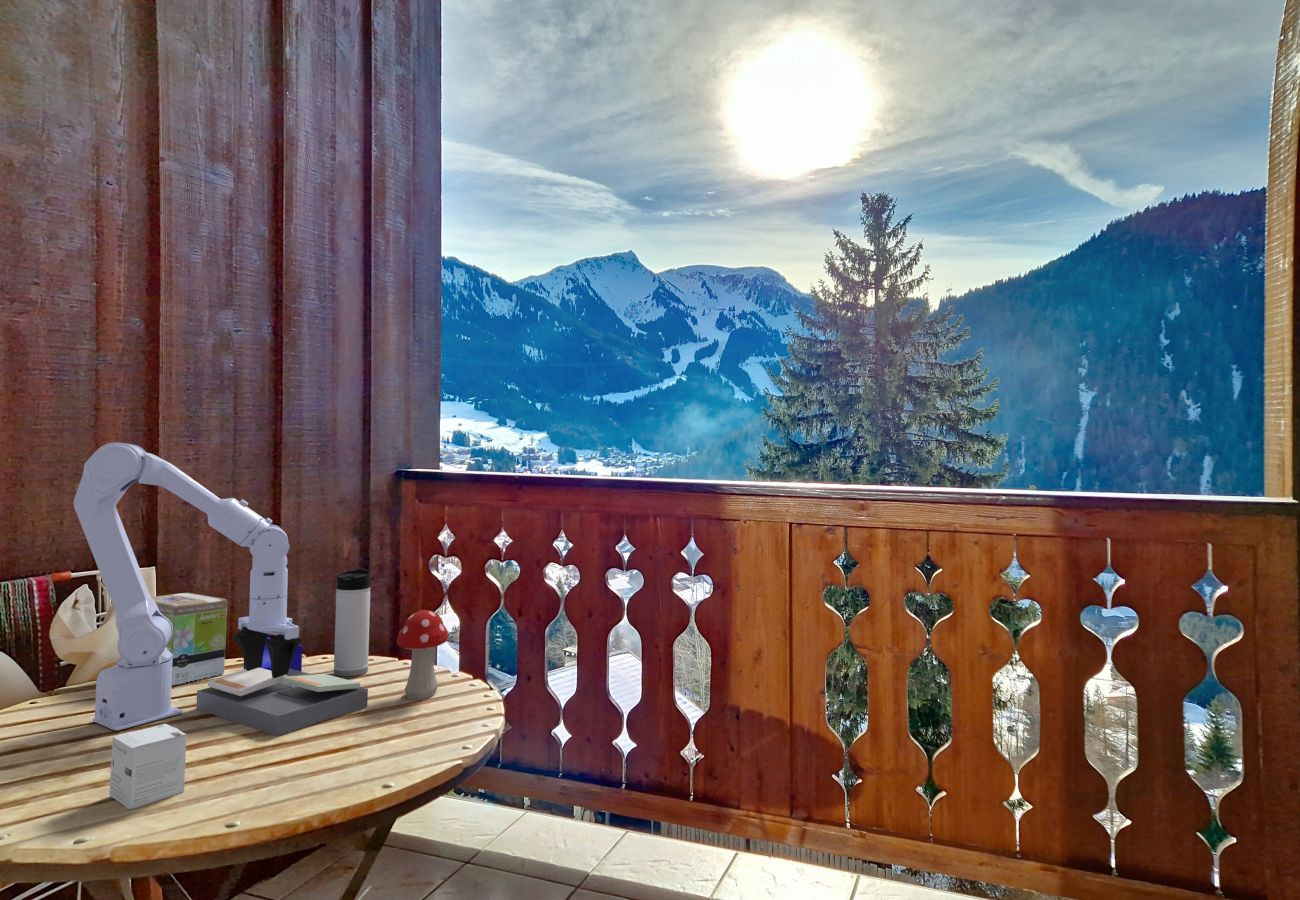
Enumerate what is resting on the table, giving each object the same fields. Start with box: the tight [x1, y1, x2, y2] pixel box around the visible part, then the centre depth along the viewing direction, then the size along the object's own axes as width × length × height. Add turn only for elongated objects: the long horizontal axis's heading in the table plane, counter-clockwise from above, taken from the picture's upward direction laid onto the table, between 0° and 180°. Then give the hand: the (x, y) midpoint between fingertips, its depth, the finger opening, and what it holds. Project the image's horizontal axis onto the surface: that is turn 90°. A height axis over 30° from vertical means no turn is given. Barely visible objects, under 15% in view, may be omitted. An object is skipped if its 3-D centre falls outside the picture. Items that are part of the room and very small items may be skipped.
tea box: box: [151, 592, 228, 687], centre depth 136 cm, size 15×10×15 cm
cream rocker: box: [206, 668, 288, 696], centre depth 119 cm, size 8×10×1 cm
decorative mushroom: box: [396, 609, 449, 701], centre depth 127 cm, size 10×9×15 cm
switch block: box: [195, 669, 369, 737], centre depth 121 cm, size 22×22×3 cm
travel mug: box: [333, 568, 371, 678], centre depth 140 cm, size 6×7×20 cm
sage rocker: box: [281, 673, 361, 692], centre depth 118 cm, size 8×10×1 cm
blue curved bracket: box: [242, 636, 303, 672], centre depth 138 cm, size 12×4×6 cm, turn 59°
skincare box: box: [109, 723, 188, 810], centre depth 87 cm, size 6×6×7 cm
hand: (266, 675), depth 121 cm, fingers open, 7 cm apart
